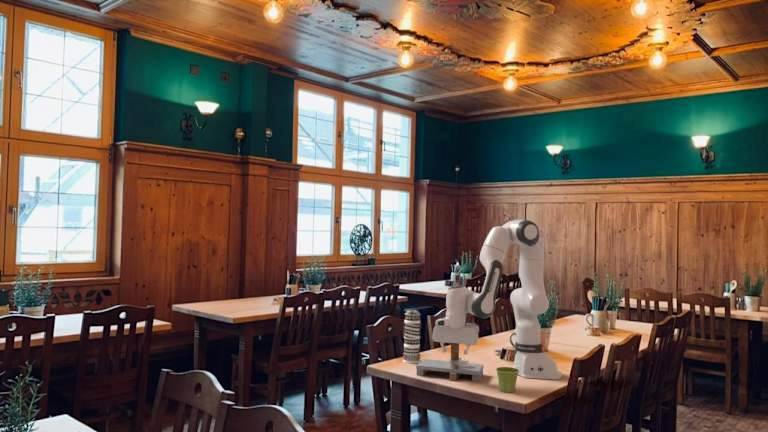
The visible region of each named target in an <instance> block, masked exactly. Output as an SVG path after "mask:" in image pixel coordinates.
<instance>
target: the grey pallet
mask: <svg viewBox="0 0 768 432" xmlns="http://www.w3.org/2000/svg"><path fill="white" fill-rule="evenodd" d="M415 368H416V375H417V376H421V377H422V376H425V374H427V372H428V371H435V372H443V373H449V374H448V375H449V376H448V379H449V380H448V381H452V382H456V381H458V379H459V378H460V377H461V375H462V374H463V375H471V381H472V382H480V381H481V379H482V378H483V375H484V364H481V363H473V362H472V363H470V362H469V366H468V367H458V369H452V368H451V366H449V360H442V359H441V360H438V359H431V358H430V359H429V358H423V359H422V360H421V361H420V362H419V363H416V366H415Z"/></svg>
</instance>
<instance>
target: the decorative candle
mask: <svg viewBox="0 0 768 432" xmlns="http://www.w3.org/2000/svg"><path fill="white" fill-rule="evenodd" d="M420 329H422V323H421V313H420V312H419V310H415V309H413V310H412V309H408V310H406V311H405V313H404V322H403V330H402V331H403V338H404V342H403V354H402V355H403V356H402V358H403V360H402V362H403V363H406V364H418V363H420V362H421V361H420V360H421V347H420V346H421V344H420V343H421V342H420V339H421V338H422V337H421V336H422V334H421V333H422V331H421V330H420Z"/></svg>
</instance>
